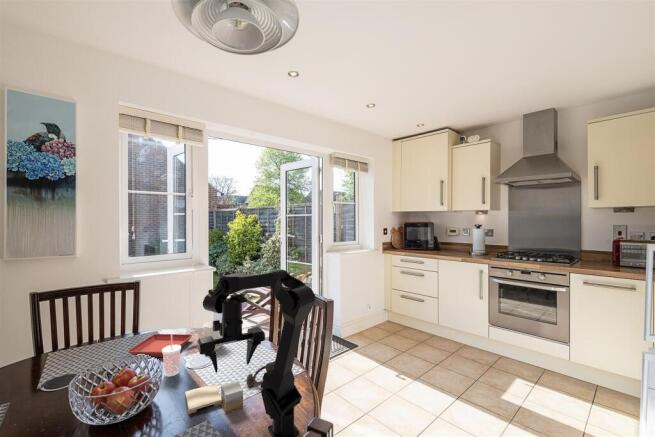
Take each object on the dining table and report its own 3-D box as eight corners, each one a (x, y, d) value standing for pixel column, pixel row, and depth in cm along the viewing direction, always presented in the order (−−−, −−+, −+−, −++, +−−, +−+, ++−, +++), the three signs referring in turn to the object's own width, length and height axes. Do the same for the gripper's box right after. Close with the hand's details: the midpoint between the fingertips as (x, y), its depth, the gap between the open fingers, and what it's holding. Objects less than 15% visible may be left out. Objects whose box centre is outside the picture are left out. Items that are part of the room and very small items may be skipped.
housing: (243, 408, 89) (243, 390, 89) (225, 414, 87) (225, 395, 87) (237, 398, 95) (237, 380, 94) (221, 403, 92) (221, 385, 92)
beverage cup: (158, 377, 106) (158, 338, 106) (167, 368, 112) (167, 331, 112) (176, 377, 106) (176, 337, 106) (184, 368, 112) (184, 331, 112)
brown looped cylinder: (279, 377, 97) (289, 356, 106) (242, 369, 99) (255, 349, 109) (279, 395, 99) (288, 373, 108) (242, 387, 101) (255, 366, 110)
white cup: (202, 344, 133) (202, 322, 132) (221, 341, 136) (221, 319, 136) (203, 352, 125) (203, 328, 125) (223, 348, 129) (223, 325, 129)
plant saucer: (154, 340, 138) (154, 333, 138) (193, 341, 137) (193, 333, 137) (126, 359, 120) (126, 351, 120) (171, 360, 119) (171, 352, 119)
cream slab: (221, 404, 91) (221, 399, 91) (189, 414, 86) (189, 409, 86) (215, 388, 100) (215, 383, 100) (185, 396, 95) (185, 391, 95)
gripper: (254, 304, 102) (254, 350, 102) (194, 313, 92) (194, 364, 93) (265, 313, 93) (265, 364, 93) (200, 325, 83) (200, 381, 83)
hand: (232, 367), depth 91 cm, fingers open, 9 cm apart
